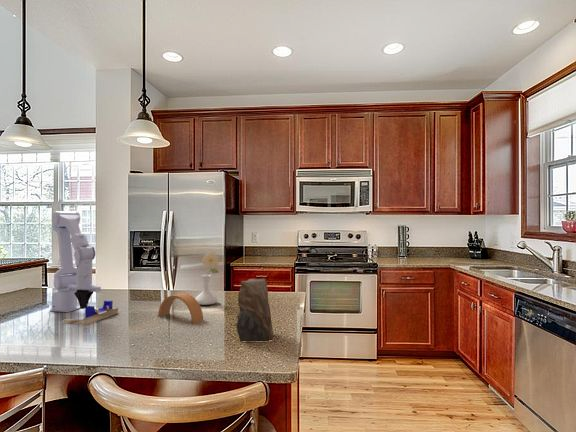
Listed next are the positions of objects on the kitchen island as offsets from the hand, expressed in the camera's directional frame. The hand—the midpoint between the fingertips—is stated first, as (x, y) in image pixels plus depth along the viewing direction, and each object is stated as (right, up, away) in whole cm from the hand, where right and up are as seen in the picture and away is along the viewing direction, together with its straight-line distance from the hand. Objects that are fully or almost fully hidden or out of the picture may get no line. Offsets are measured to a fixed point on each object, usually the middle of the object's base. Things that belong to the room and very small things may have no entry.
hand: (83, 308), depth 150 cm
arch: (+40, -4, 0) cm, 41 cm away
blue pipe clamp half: (+6, -4, -1) cm, 7 cm away
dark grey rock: (+74, -4, -24) cm, 78 cm away
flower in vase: (+46, -5, +25) cm, 52 cm away
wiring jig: (+5, -4, -1) cm, 6 cm away
